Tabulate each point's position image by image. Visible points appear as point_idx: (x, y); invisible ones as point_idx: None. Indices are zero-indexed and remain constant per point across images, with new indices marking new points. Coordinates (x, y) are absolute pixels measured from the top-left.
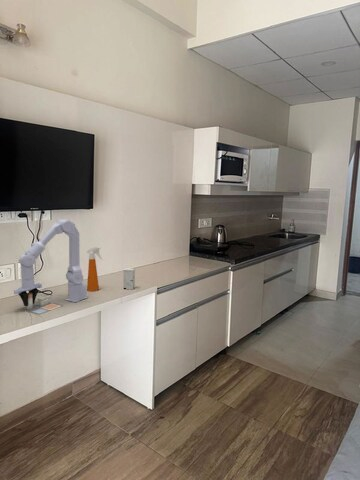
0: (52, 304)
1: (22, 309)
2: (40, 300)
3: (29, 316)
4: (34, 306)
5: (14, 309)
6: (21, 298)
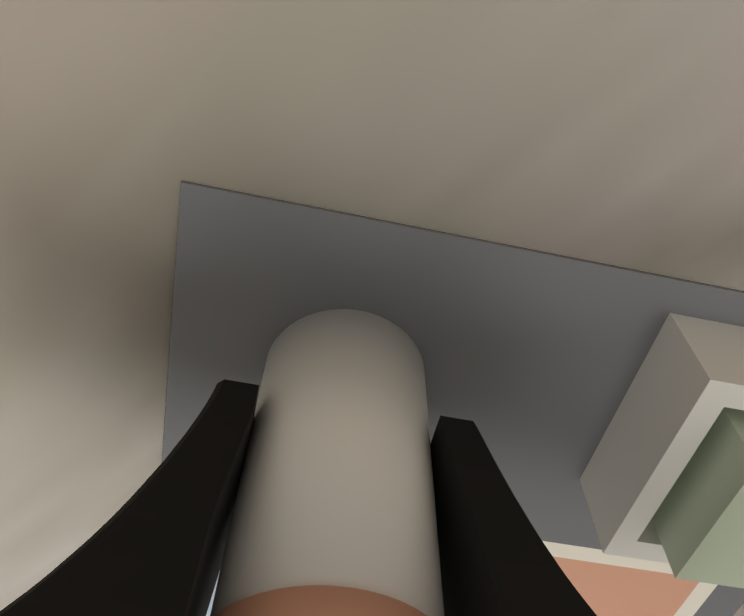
0: (687, 591)
1: (211, 284)
2: (681, 521)
3: (5, 601)
4: (497, 391)
5: (111, 70)
6: (96, 538)
